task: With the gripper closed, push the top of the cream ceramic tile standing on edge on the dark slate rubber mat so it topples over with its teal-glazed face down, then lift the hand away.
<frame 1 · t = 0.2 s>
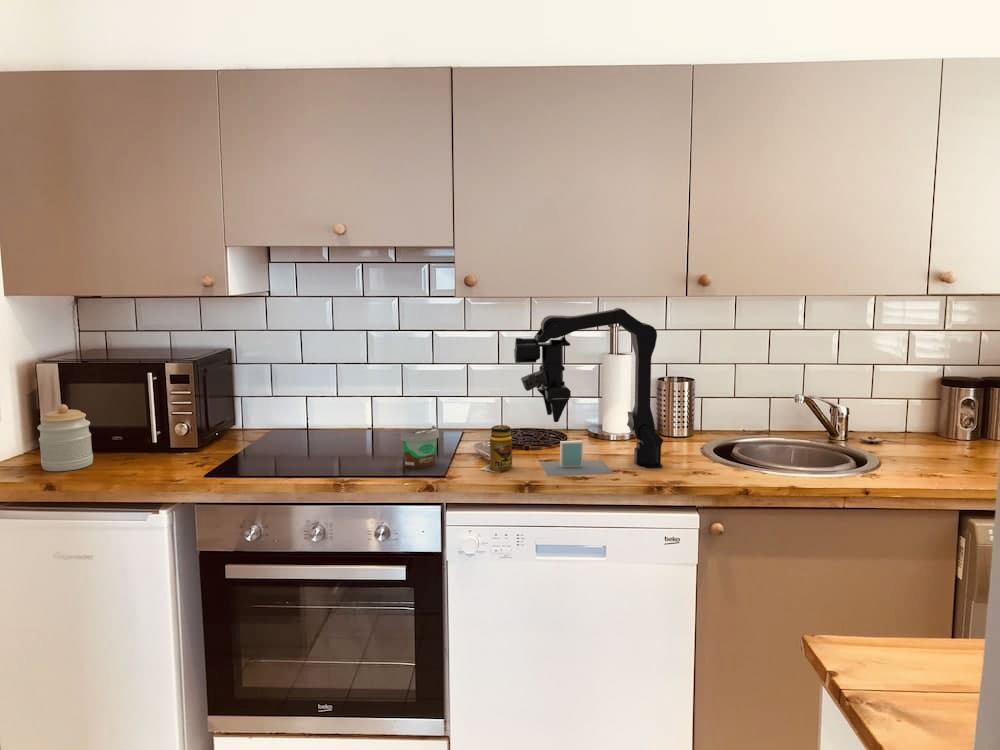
hand: (552, 418, 218), 14 cm above the countertop, fingers open, 9 cm apart
condiment: (498, 469, 219), on the countertop
food container: (425, 466, 223), on the countertop
tile: (571, 466, 220), resting on mat
jar: (68, 466, 223), on the countertop
mat: (576, 469, 218), on the countertop
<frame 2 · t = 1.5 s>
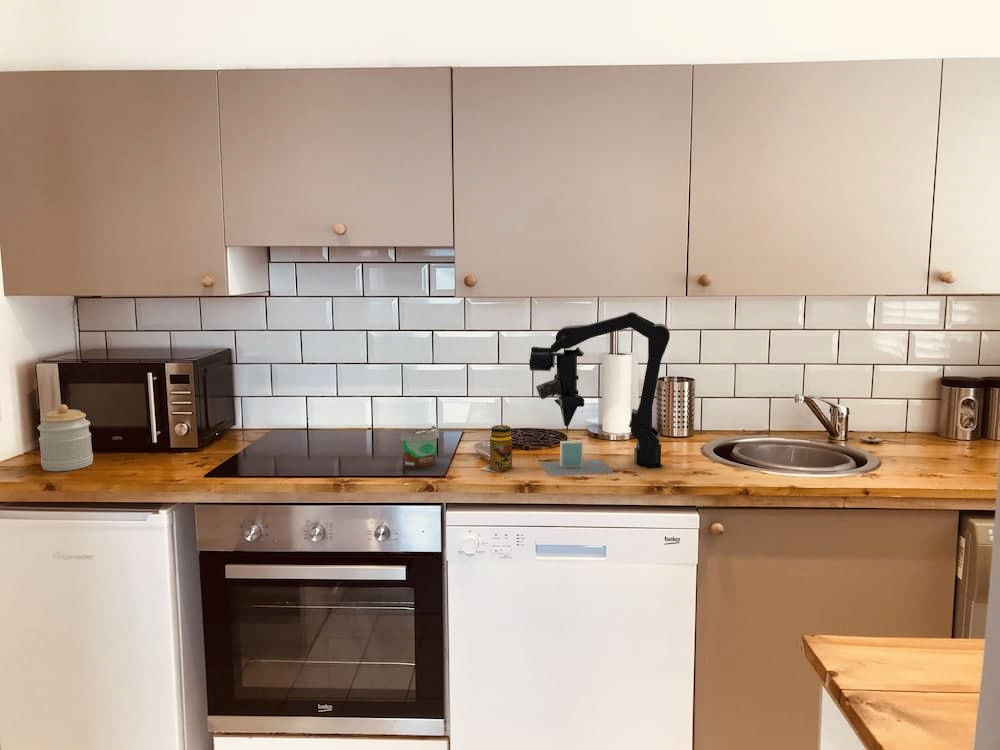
hand: (566, 425, 225), 10 cm above the countertop, fingers closed
nothing on the countertop moved.
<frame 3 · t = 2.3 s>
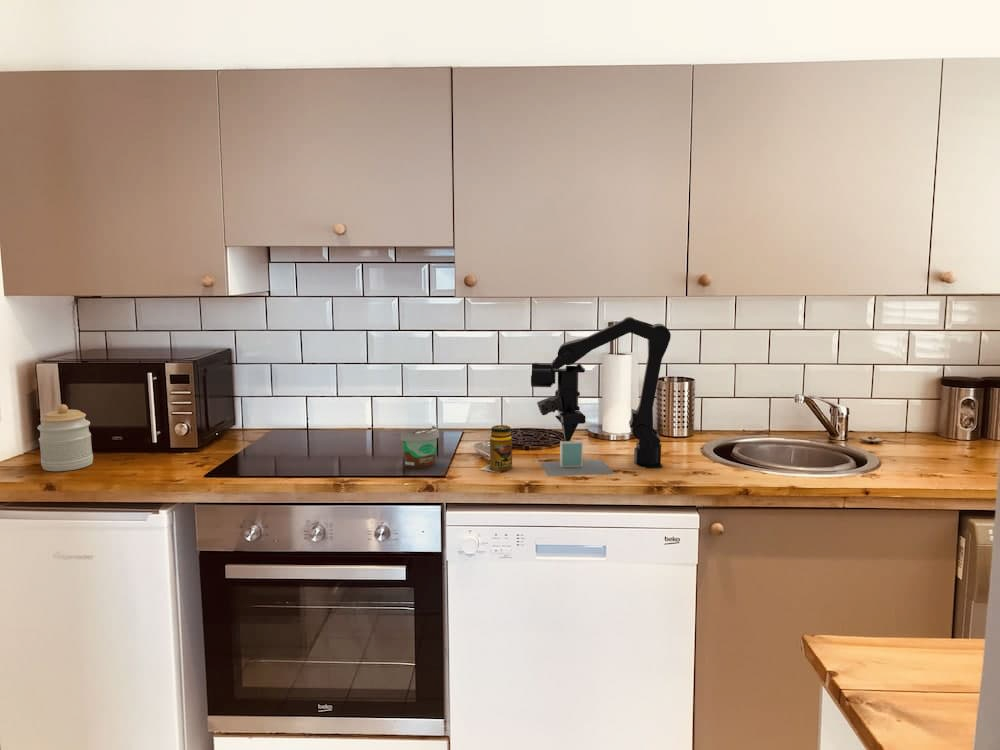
hand: (567, 442, 224), 6 cm above the countertop, fingers closed
nothing on the countertop moved.
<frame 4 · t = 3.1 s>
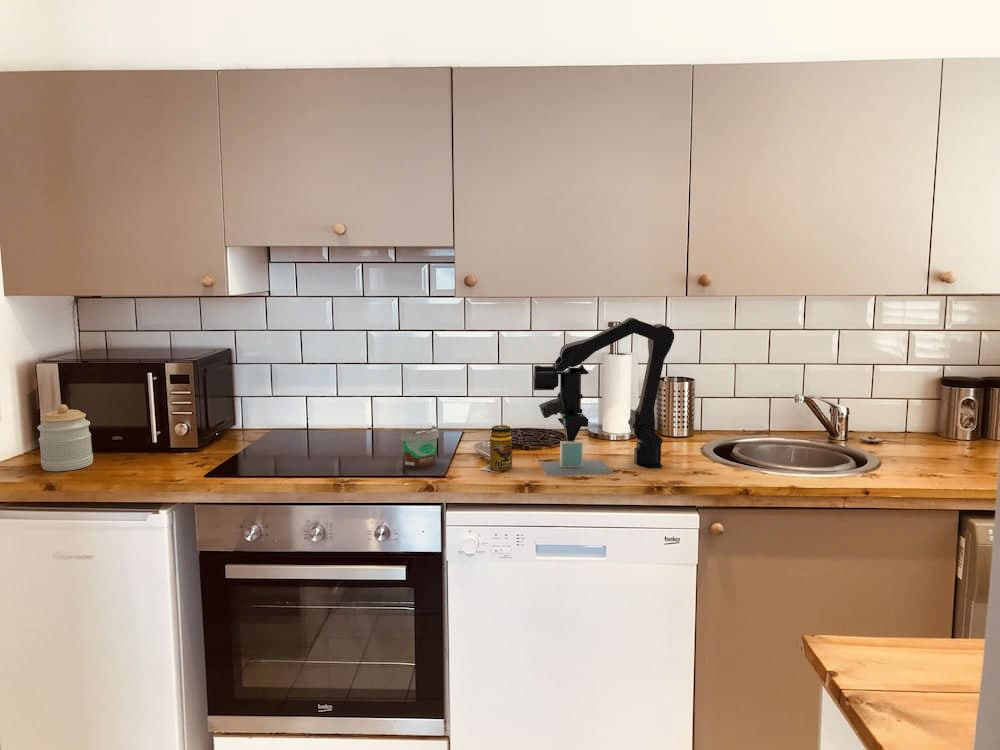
hand: (569, 445, 220), 6 cm above the countertop, fingers closed
tile: (571, 466, 220), resting on mat, touching gripper
everything else where it was.
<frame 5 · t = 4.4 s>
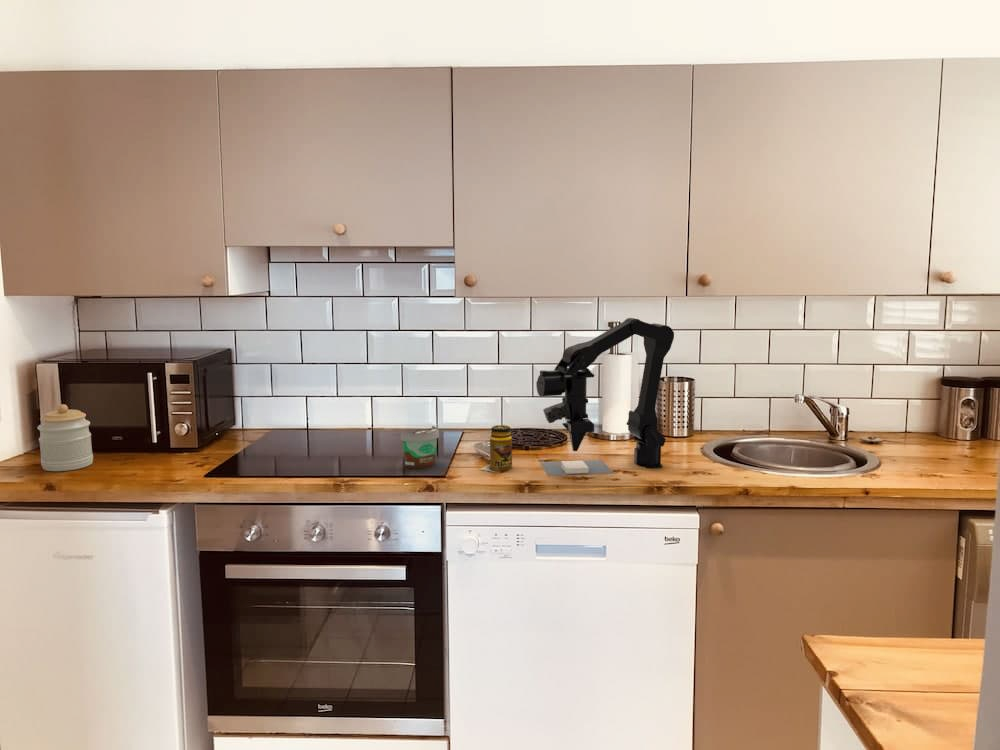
hand: (574, 450, 214), 6 cm above the countertop, fingers closed
tile: (571, 463, 218), point 1 cm above the countertop, tilted 90°, touching mat
everything else where it was.
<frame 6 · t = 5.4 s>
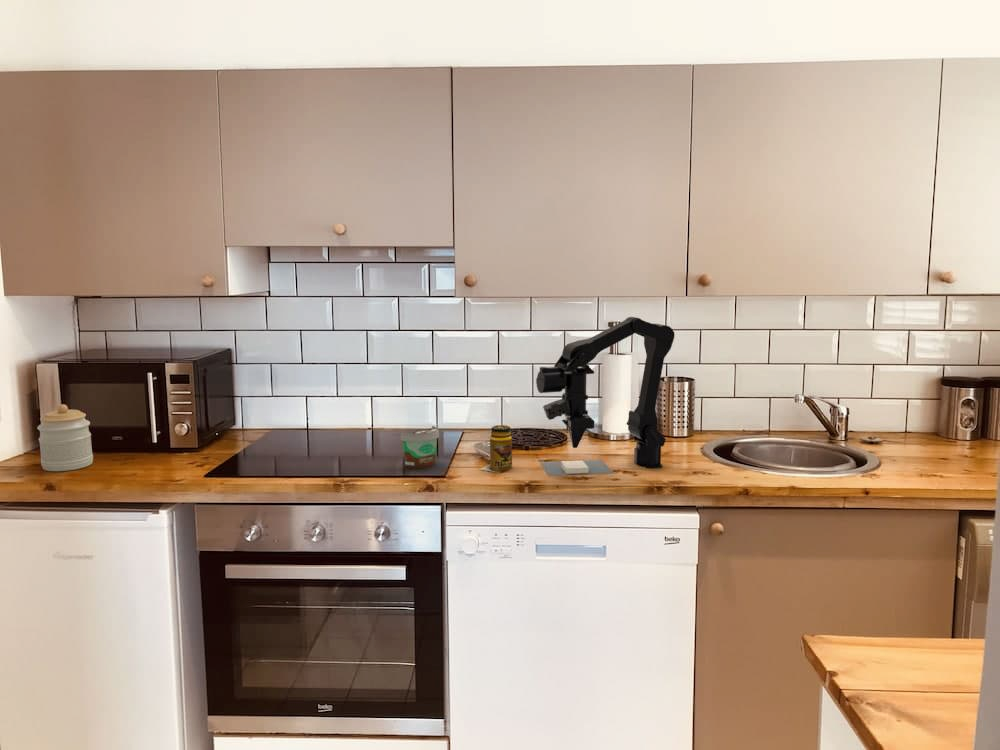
hand: (574, 447, 214), 7 cm above the countertop, fingers closed
nothing on the countertop moved.
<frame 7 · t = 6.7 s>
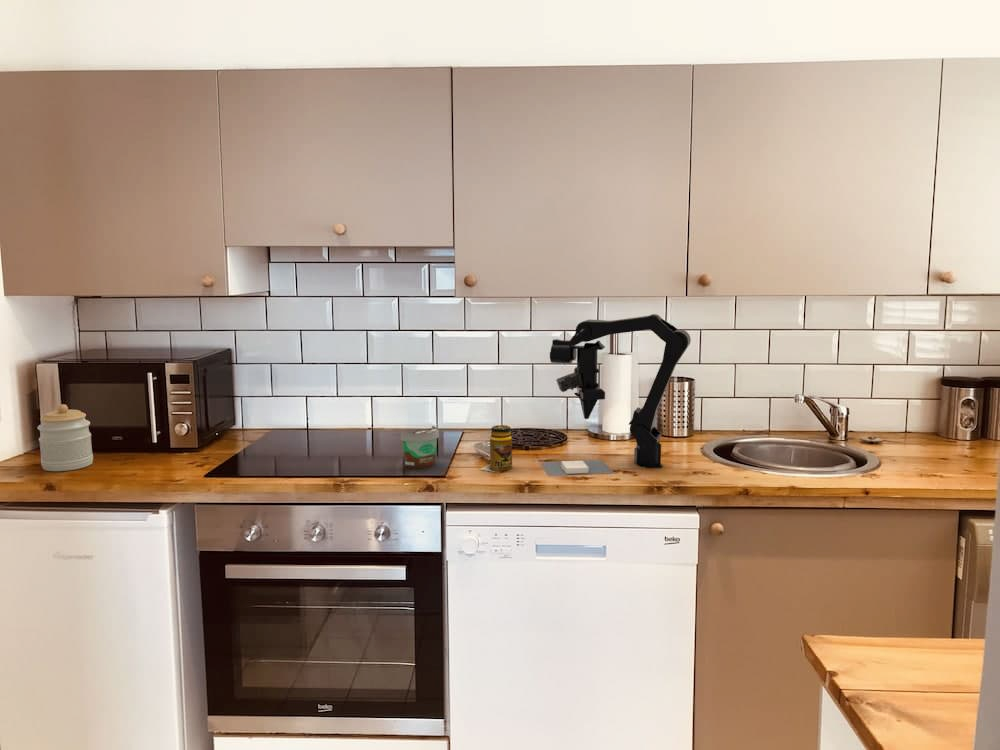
hand: (586, 418, 226), 12 cm above the countertop, fingers closed
nothing on the countertop moved.
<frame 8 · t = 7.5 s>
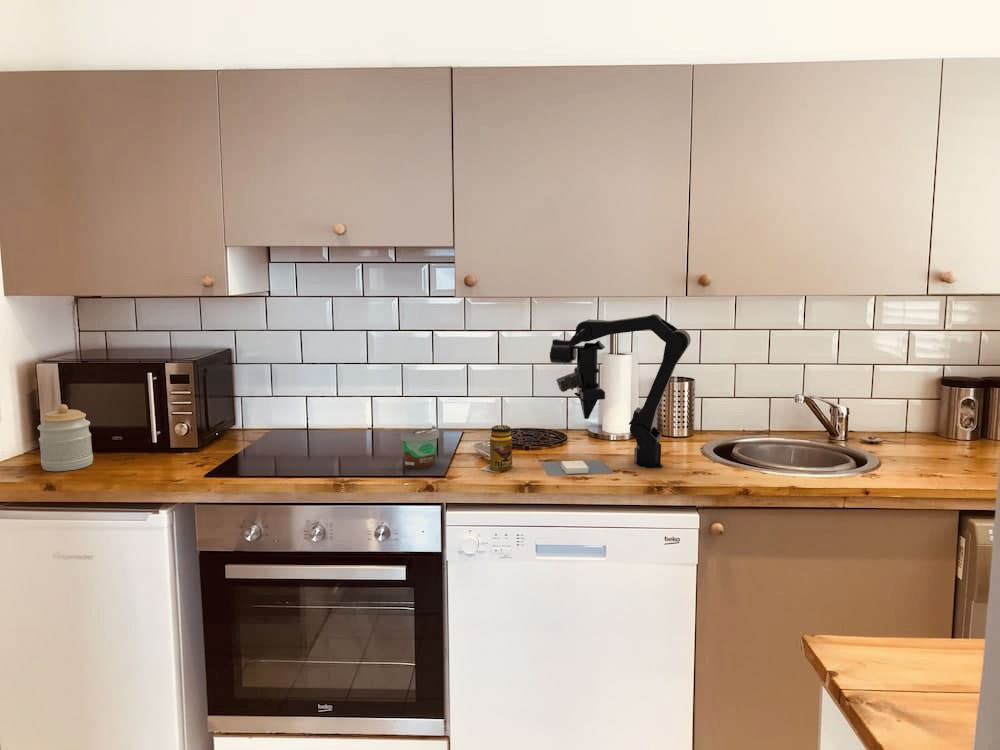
hand: (586, 418, 226), 12 cm above the countertop, fingers closed
nothing on the countertop moved.
at the end: tile tilted 90°; tile inside the target area on the mat (2.1 cm from its centre), point 1.4 cm above the mat's base; tile touching mat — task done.
